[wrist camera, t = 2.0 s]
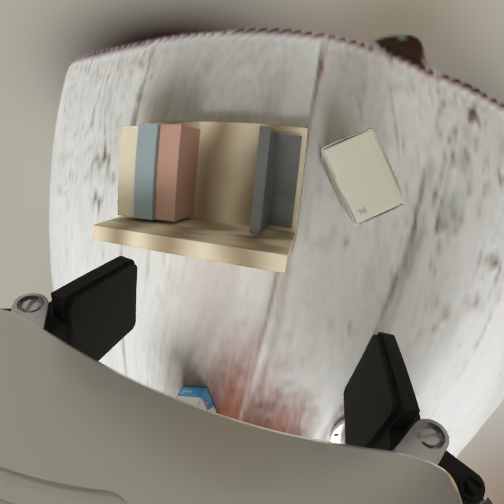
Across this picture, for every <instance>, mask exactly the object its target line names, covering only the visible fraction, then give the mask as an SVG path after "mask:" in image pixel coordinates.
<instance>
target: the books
mask: <svg viewBox="0 0 504 504" xmlns="http://www.w3.org/2000/svg"><path fill="white" fill-rule="evenodd" d="M199 140H200V130H199V129H196V128H193V127H189V126H186V125H183V124H166V125H159V124H150V125H139V126H126V127H122V133H121V145H120V159H119V178H118V215H122V216H130V217H134V218H141V219H149V220H153V219H158V220H165V221H173V222H175V221H178V220H180V219H183V218H185V217H188V216H191V215H193V214H194V204H195V188H196V175H197V162H198V151H199Z"/></svg>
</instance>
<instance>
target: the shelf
mask: <svg viewBox="0 0 504 504" xmlns="http://www.w3.org/2000/svg"><path fill="white" fill-rule="evenodd" d="M150 124H159V125H166V124H183V125H186V126H189V127H193V128H196V129H199V130H200V140H199V151H198V162H197V175H196V188H195V204H194V214H193V215H191V216H188V217H185V218H183V219H180V220H178V221H175V222H173V221H165V220H158V219H153V220H149V219H141V218H134V217H130V216H122V217H118V218H115V219H112V220H108V221H105V222H102V223H98V224H95V225H93V239H95V240H100V241H105V242H111V243H116V244H121V245H127V246H132V247H137V248H143V249H148V250H154V251H159V252H165V253H171V254H176V255H182V256H187V257H193V258H199V259H205V260H210V261H216V262H222V263H228V264H234V265H240V266H246V267H252V268H258V269H264V270H270V271H276V272H282V273H285V272H286V268H287V265H288V262H289V259H290V256H291V253H292V250H293V247H294V243H295V237H296V230H297V223H298V215H299V207H300V199H301V191H302V182H303V174H304V165H305V155H306V146H307V136H308V128H301V127H292V126H282V125H270V124H257V123H238V122H158V123H144V125H150ZM260 126H271V127H272V128H273V129H274V130H275V131H276V132H277V133H278V134H287V135H296V136H302V142H301V152H300V162H299V171H298V180H297V188H296V197H295V205H294V213H293V221H292V228H287V227H280V226H273V225H268V226H267V227H266V228H265V230H264V231H263V232H262V233H261V234H260V235H258V234H251V233H249V231H250V221H251V211H252V200H253V190H254V180H255V170H256V160H257V150H258V140H259V130H260Z"/></svg>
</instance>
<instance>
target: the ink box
mask: <svg viewBox="0 0 504 504" xmlns="http://www.w3.org/2000/svg"><path fill="white" fill-rule="evenodd" d="M176 398H177V399H180V400H182V401H185V402H187V403H190V404H192V405H195V406H198V407H201V408H203V409H206V410H209V411H212V412H215V413H217V412H216V409H215V407H214V404H213V402H212V399H211V397H210V394H209V391H208V389H207V388H201V387H182V389H181V390H180V392H179V394H178V395H177V397H176Z"/></svg>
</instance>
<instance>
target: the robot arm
mask: <svg viewBox="0 0 504 504" xmlns="http://www.w3.org/2000/svg"><path fill="white" fill-rule="evenodd" d="M136 283H137V266H136V265H135V263H134V261H133V260H131V259H128V258H126V257H123V256H119V257H117V258H115V259H113V260H111V261H109V262H107V263H105V264H104V265H102V266H100V267H98V268H96V269H94V270H92V271H90V272H88V273H87V274H85V275H83V276H81V277H79V278H77V279H76V280H74V281H72V282H70V283H68V284H66V285H65V286H63V287H61V288H59V289H58V290H56V291H54V292H52V293H51V297H52V301H51V302H49V303H48V300H47V298H46V297H45V296H43V295H41V294H36V293H28V294H24V295H22V296H20V297H18V298H17V299H16V300H15V301H14V303H13V305H12V308H11V309H0V504H493V503H492V502H491V501H490V499H489V498H486V499H485V500H484V499H483V497H484V494H485V485H484V482H483V481H482V479H481V477H480V476H479V475H478V474H476V473H475V472H474V471H473V470H471V469H470V468H469V467H467V466H466V465H465V464H463V463H462V462H461V461H459V460H458V459H457V458H455V457H454V456H453V455H451V454H450V453H449V452H448V451H446V449H447V447H448V444H449V436H448V433H447V431H446V430H445V429H444V427H443V426H442V425H440V424H439V423H438V422H436V421H434V420H430V419H420V415H419V412H420V410H419V407H418V403H417V400H416V397H415V394H414V390H413V387H412V384H411V381H410V378H409V375H408V372H407V369H406V366H405V364H404V361H403V358H402V355H401V352H400V350H399V347H398V344H397V342H396V339H395V336H394V335H391V334H387V333H382V332H379V333H378V334H377V335H373V336H372V338H371V340H370V342H369V344H368V346H367V348H366V350H365V352H364V354H363V356H362V358H361V360H360V362H359V363H358V365H357V367H356V369H355V371H354V373H353V375H352V376H351V378H350V380H349V382H348V384H347V385H346V388H345V391H344V415H345V418H344V419H343V420H341V421H340V422H339V423H337V425H336V426H335V427H334V428H333V430H332V432H331V442H327V441H322V440H317V439H312V438H307V437H302V436H297V435H293V434H288V433H284V432H280V431H276V430H272V429H268V428H264V427H260V426H257V425H253V424H250V423H246V422H243V421H240V420H236V419H233V418H230V417H227V416H224V415H221V414H218V413H215V412H212V411H209V410H206V409H203V408H201V407H198V406H195V405H192V404H190V403H187V402H185V401H182V400H180V399H177V398H175V397H172V396H170V395H167V394H165V393H163V392H160V391H158V390H156V389H153V388H151V387H149V386H147V385H145V384H142V383H140V382H138V381H136V380H134V379H132V378H130V377H128V376H125V375H123V374H121V373H119V372H117V371H115V370H114V369H112V368H110V367H108V366H106V365H104V364H102V363H100V362H98V361H99V360H100V359H101V358H102V357H103V356H104V355H105V354H106V353H107V352H108V351H109V350H110V349H111V348H112V347H114V346H115V345H116V344H117V343H118V342H119V341H120V340H121V339H122V338H123V337H124V336H125V335H126V334H127V333H129V332H130V331H131V330H132V329H133V327H134V325H135V322H136Z"/></svg>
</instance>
